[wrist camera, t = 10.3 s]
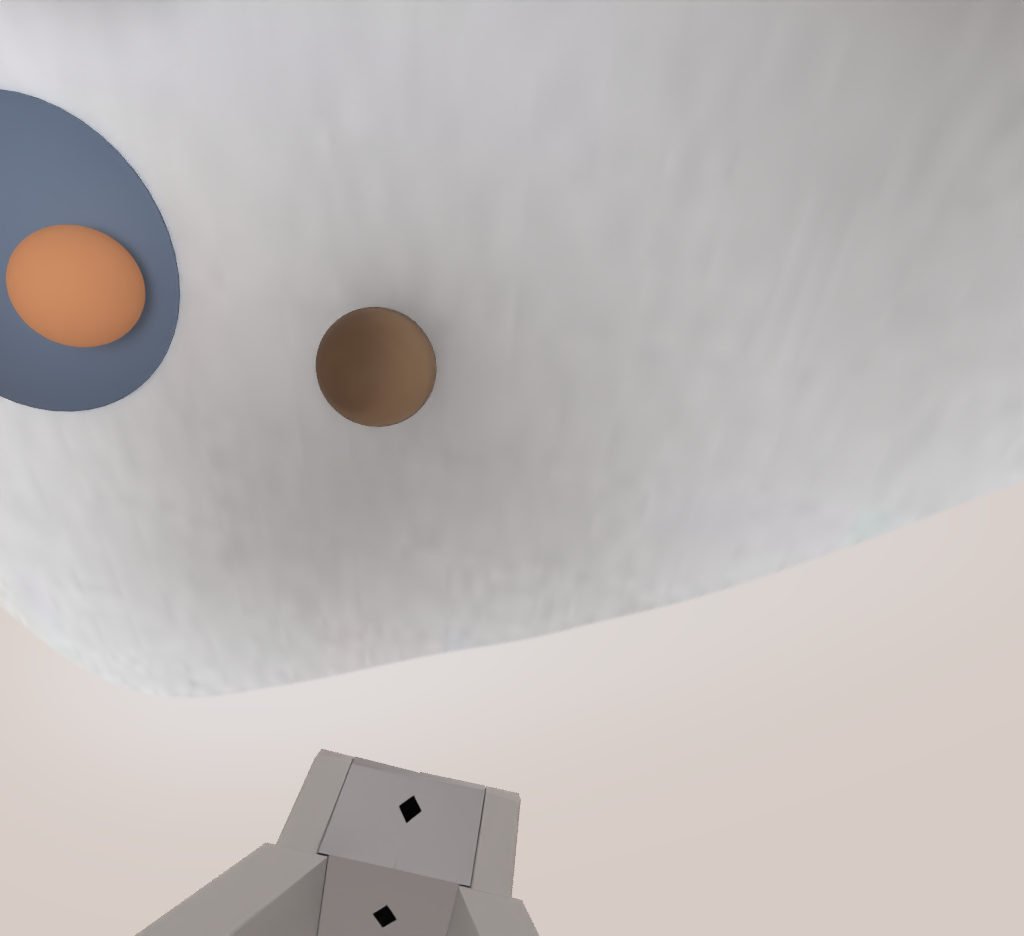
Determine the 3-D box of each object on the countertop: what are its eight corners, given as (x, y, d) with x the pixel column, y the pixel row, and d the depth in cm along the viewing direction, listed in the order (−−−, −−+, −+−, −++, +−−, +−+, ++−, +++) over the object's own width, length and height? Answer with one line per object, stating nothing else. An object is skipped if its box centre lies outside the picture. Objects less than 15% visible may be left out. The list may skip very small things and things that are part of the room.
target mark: (181, 128, 30) (179, 128, 30) (177, 437, 35) (175, 438, 35) (-149, 55, 30) (-154, 54, 29) (-101, 376, 35) (-105, 377, 35)
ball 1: (-31, 213, 27) (63, 208, 31) (-23, 341, 29) (64, 318, 33) (95, 247, 27) (171, 237, 31) (95, 373, 29) (166, 346, 33)
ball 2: (292, 306, 28) (356, 289, 32) (290, 426, 30) (350, 394, 34) (410, 333, 27) (459, 311, 31) (400, 455, 29) (447, 418, 33)
